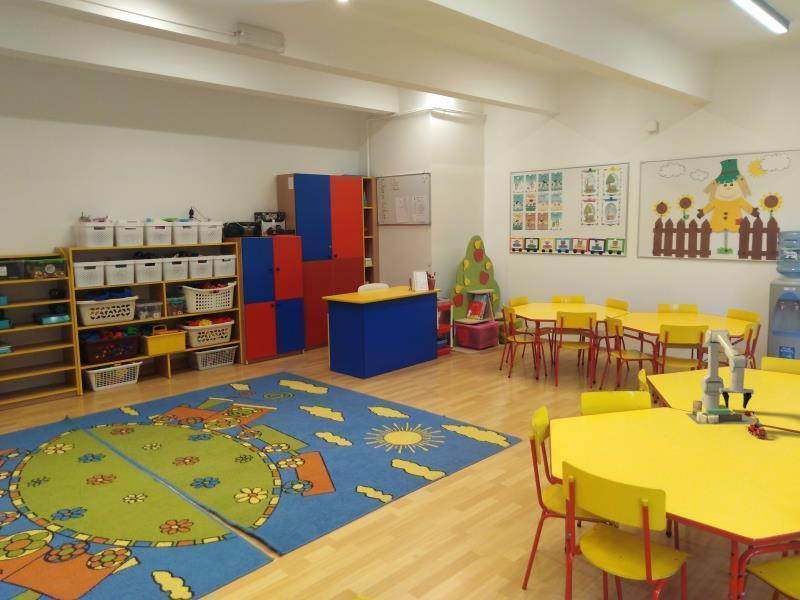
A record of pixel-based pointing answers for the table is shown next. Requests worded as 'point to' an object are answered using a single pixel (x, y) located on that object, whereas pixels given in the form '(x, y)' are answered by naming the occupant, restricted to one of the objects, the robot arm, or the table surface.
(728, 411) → the bar
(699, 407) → the peg
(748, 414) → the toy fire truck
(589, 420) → the table surface
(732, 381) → the robot arm
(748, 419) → the board
